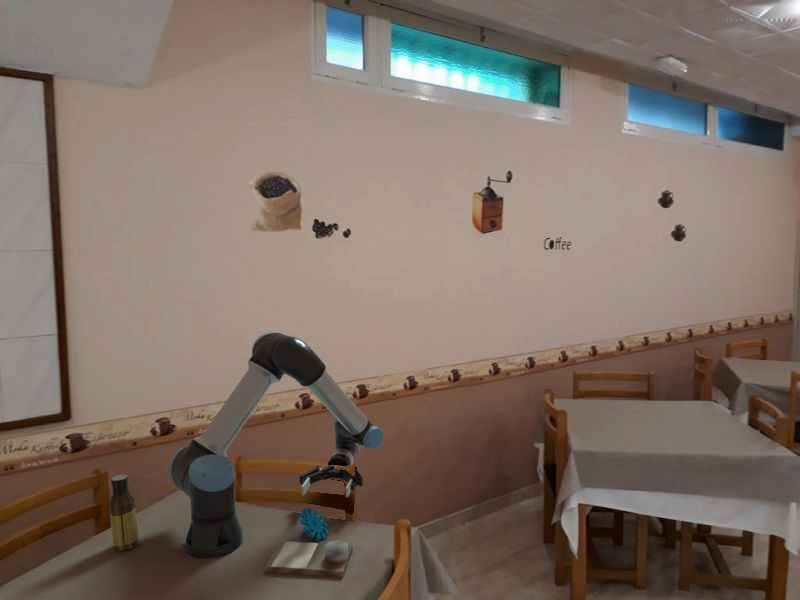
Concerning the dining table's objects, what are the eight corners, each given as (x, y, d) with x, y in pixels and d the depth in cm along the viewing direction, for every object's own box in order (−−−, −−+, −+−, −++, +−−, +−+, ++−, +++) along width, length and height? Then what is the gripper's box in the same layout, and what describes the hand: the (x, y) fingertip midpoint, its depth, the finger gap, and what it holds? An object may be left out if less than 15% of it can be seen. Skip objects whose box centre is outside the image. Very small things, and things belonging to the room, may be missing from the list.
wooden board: (265, 572, 141) (265, 555, 141) (280, 546, 153) (280, 531, 153) (343, 577, 139) (342, 559, 139) (352, 551, 151) (352, 535, 150)
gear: (318, 542, 152) (296, 512, 155) (303, 555, 154) (283, 524, 156) (336, 529, 162) (316, 500, 165) (323, 541, 164) (303, 512, 167)
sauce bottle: (139, 538, 158) (136, 470, 156) (136, 550, 152) (132, 479, 150) (114, 542, 156) (110, 473, 154) (110, 554, 150) (105, 482, 148)
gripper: (376, 475, 188) (365, 505, 167) (304, 473, 191) (285, 502, 170) (376, 454, 187) (365, 481, 166) (304, 452, 190) (284, 478, 169)
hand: (324, 491), depth 168 cm, fingers open, 13 cm apart
